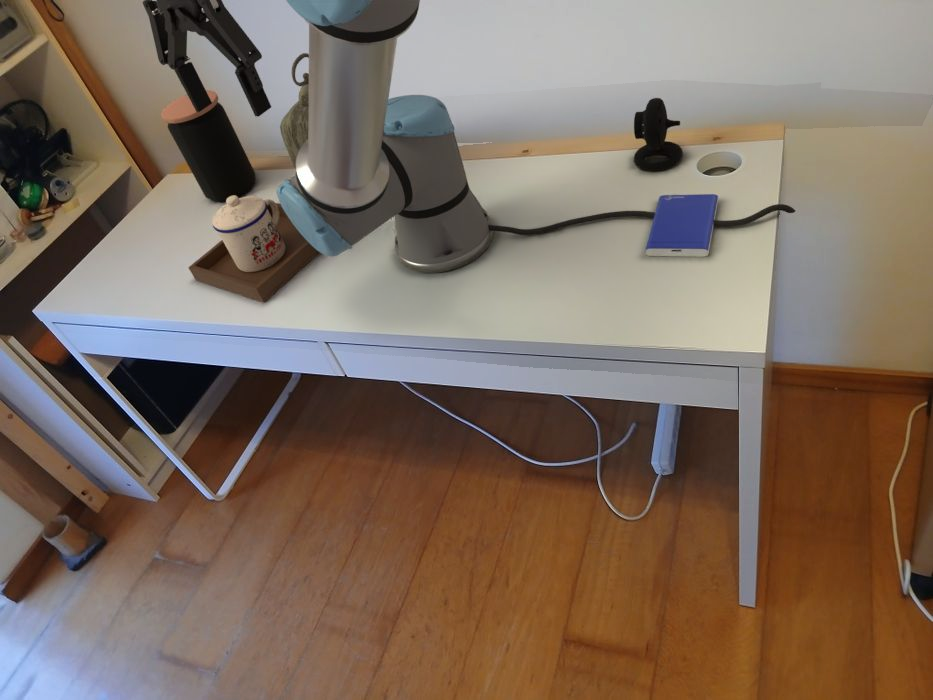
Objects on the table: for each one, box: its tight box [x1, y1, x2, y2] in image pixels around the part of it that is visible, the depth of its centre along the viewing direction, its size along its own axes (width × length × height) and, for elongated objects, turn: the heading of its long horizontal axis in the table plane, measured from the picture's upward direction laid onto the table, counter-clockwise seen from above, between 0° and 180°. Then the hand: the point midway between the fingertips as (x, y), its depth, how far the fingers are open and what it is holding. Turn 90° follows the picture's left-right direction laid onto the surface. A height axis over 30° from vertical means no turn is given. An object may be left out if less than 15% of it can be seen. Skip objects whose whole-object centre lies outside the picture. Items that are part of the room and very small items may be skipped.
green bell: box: [279, 52, 309, 170], centre depth 129 cm, size 14×9×25 cm, turn 162°
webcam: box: [633, 97, 683, 172], centre depth 117 cm, size 8×8×10 cm
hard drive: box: [645, 193, 719, 258], centre depth 106 cm, size 2×8×12 cm
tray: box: [188, 202, 320, 304], centre depth 127 cm, size 18×20×3 cm
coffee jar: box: [160, 89, 256, 203], centre depth 143 cm, size 11×11×18 cm
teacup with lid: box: [212, 195, 285, 272], centre depth 124 cm, size 12×9×12 cm
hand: (233, 109), depth 112 cm, fingers open, 13 cm apart
